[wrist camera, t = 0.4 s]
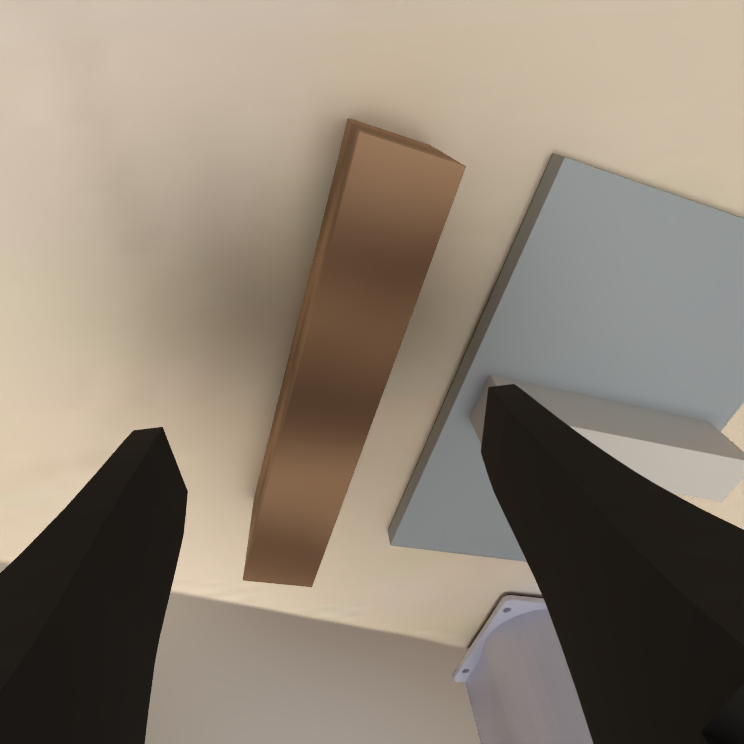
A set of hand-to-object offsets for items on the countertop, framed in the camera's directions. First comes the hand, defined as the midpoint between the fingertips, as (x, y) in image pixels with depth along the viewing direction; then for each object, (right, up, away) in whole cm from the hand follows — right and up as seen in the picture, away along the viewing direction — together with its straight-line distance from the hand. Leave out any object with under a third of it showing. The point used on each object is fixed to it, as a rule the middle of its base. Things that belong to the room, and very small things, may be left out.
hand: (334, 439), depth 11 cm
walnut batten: (-1, +2, +10) cm, 11 cm away
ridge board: (+11, 0, +13) cm, 17 cm away
